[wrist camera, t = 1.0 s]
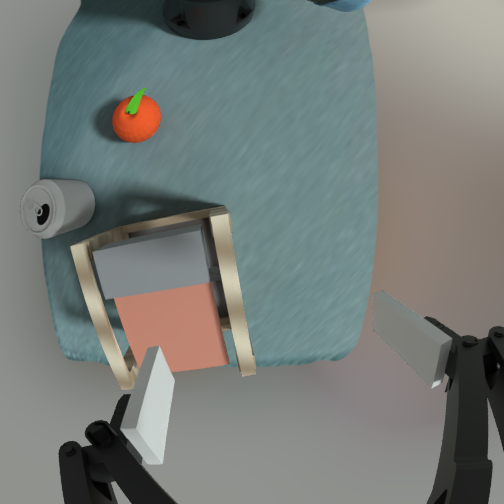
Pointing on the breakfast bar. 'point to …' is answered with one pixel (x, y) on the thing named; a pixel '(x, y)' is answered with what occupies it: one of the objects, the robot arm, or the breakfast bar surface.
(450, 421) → the robot arm
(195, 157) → the breakfast bar surface
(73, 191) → the can
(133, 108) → the clementine
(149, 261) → the grey and pink block
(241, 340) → the frame
